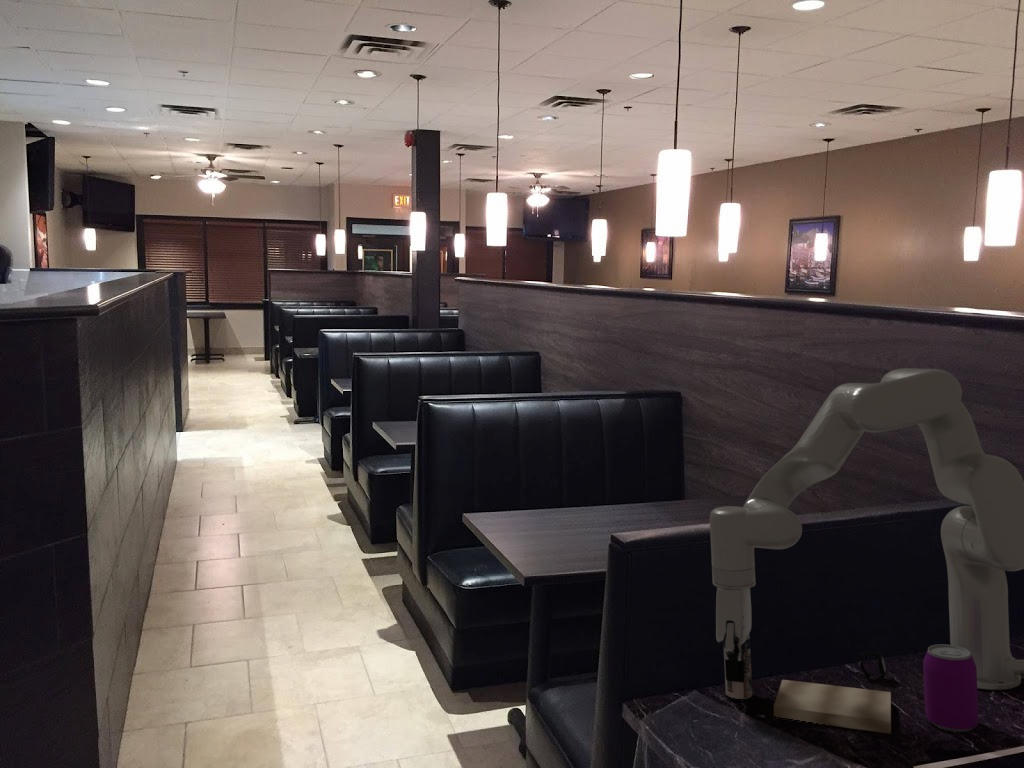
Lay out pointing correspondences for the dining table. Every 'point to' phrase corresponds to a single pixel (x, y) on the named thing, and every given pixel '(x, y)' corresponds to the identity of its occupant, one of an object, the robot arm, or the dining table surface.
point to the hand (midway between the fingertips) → (738, 674)
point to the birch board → (834, 705)
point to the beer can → (745, 688)
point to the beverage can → (950, 688)
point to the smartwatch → (879, 659)
